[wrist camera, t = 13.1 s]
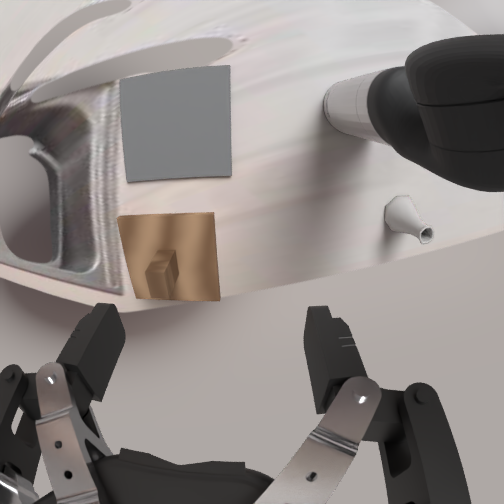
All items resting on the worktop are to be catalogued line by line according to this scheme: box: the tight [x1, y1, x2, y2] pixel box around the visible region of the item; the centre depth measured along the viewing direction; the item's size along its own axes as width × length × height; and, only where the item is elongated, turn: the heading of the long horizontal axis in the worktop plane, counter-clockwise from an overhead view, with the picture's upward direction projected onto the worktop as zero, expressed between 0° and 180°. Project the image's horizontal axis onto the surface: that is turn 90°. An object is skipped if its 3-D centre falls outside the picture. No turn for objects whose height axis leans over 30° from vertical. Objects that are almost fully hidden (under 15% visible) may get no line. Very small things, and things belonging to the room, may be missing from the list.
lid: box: [117, 212, 220, 301], centre depth 37 cm, size 14×14×7 cm
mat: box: [120, 65, 232, 182], centre depth 39 cm, size 18×18×1 cm
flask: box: [385, 195, 434, 244], centre depth 42 cm, size 7×7×10 cm
